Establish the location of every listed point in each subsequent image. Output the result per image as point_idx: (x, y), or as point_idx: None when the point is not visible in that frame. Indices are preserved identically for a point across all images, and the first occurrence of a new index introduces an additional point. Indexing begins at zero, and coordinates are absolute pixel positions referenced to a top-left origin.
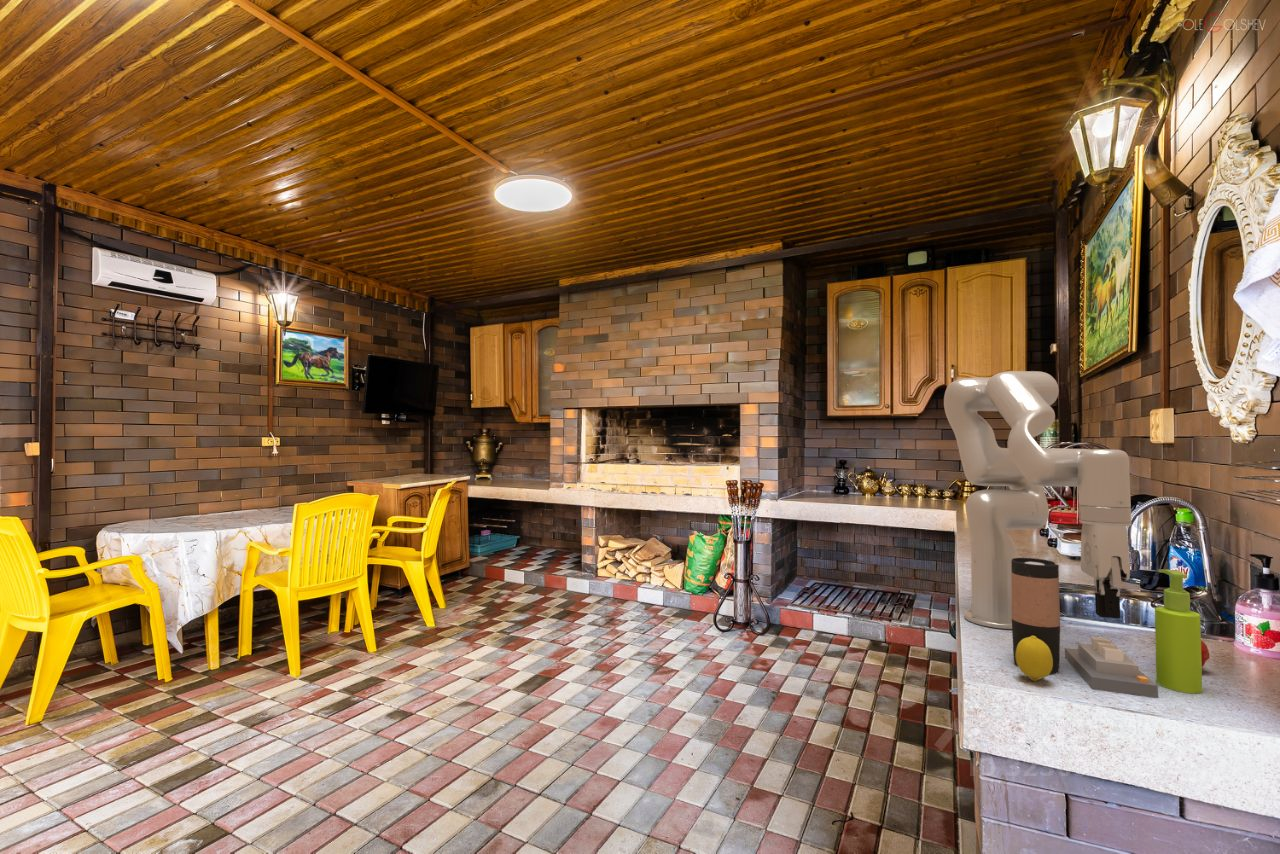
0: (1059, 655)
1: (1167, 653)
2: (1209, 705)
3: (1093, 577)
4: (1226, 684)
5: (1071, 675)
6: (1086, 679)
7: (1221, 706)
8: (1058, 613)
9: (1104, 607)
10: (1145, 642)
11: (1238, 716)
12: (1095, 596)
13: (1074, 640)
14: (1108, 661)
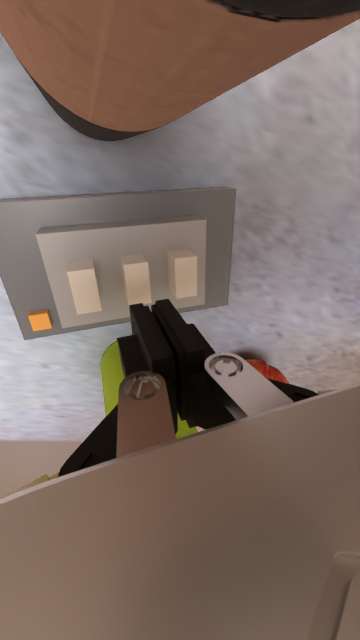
0: (96, 136)
1: (115, 395)
2: (50, 388)
3: (71, 474)
4: None
5: (78, 169)
6: (35, 198)
7: (58, 400)
8: (67, 96)
9: (128, 345)
10: (346, 345)
11: (18, 414)
12: (190, 339)
13: (346, 238)
14: (54, 267)
